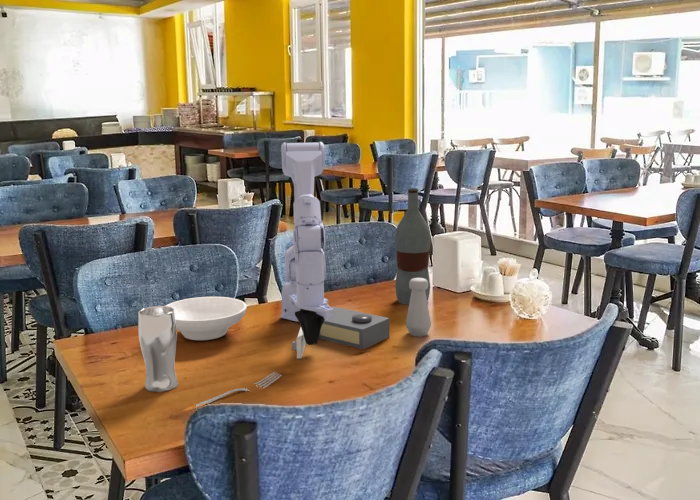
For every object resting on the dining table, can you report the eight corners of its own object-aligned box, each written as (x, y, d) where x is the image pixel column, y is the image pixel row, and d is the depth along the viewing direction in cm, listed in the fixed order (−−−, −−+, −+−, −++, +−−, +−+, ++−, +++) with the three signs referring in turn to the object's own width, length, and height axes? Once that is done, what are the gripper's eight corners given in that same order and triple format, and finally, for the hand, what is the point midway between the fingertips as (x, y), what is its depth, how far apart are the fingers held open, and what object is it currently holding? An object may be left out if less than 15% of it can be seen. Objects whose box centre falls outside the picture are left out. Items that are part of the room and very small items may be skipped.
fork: (161, 415, 130) (160, 406, 129) (273, 379, 145) (273, 370, 145) (170, 421, 127) (169, 411, 127) (283, 383, 143) (283, 375, 143)
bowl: (265, 335, 171) (264, 306, 170) (195, 357, 157) (193, 326, 156) (213, 318, 184) (212, 292, 183) (144, 337, 170) (142, 309, 169)
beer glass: (146, 379, 145) (140, 306, 142) (182, 378, 145) (177, 304, 142) (139, 394, 138) (133, 316, 135) (177, 392, 139) (172, 315, 135)
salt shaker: (429, 338, 167) (430, 282, 164) (404, 337, 168) (404, 281, 165) (432, 330, 172) (432, 276, 170) (407, 329, 174) (407, 275, 171)
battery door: (299, 334, 170) (299, 318, 169) (308, 334, 170) (307, 318, 169) (292, 358, 155) (291, 340, 154) (301, 358, 155) (301, 340, 154)
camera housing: (307, 335, 170) (306, 313, 169) (334, 324, 178) (334, 303, 177) (362, 349, 160) (362, 326, 159) (389, 337, 168) (389, 314, 167)
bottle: (437, 300, 197) (438, 188, 191) (416, 307, 190) (417, 192, 184) (408, 294, 203) (409, 185, 197) (388, 301, 197) (387, 189, 190)
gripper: (345, 285, 152) (346, 348, 154) (307, 272, 163) (309, 331, 166) (316, 291, 148) (318, 355, 150) (279, 277, 159) (281, 337, 162)
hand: (311, 343), depth 158 cm, fingers closed
